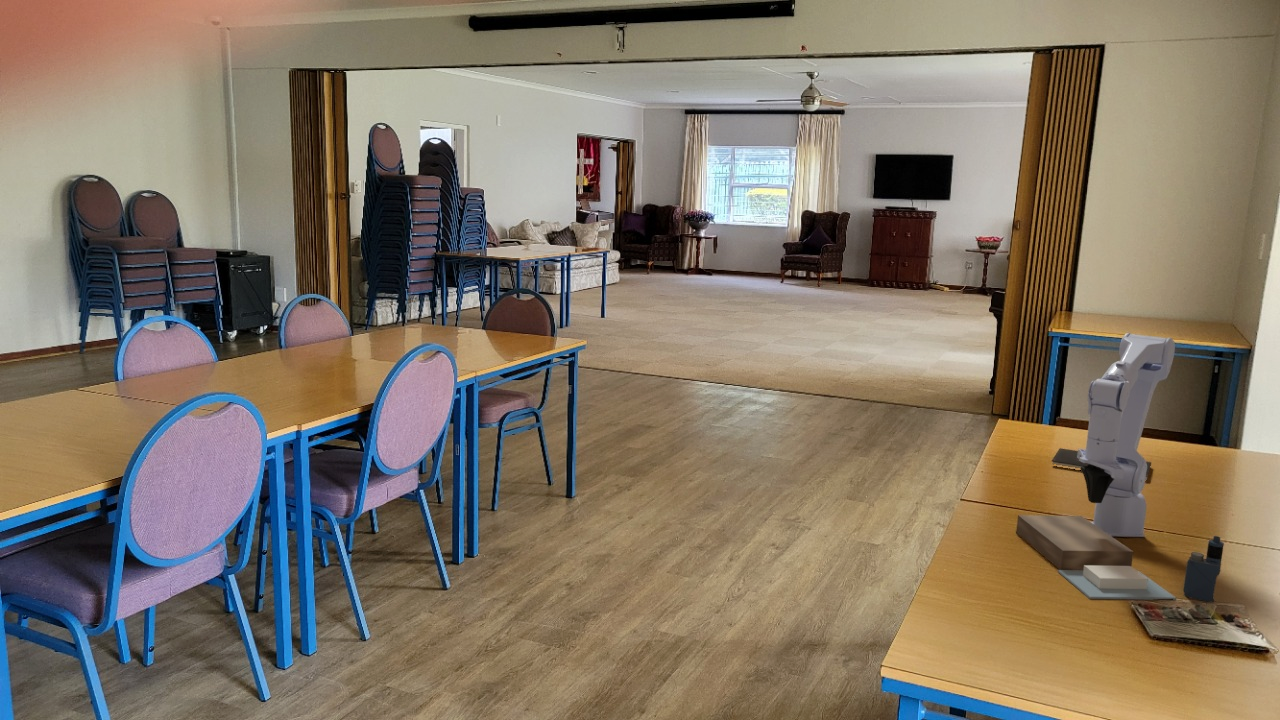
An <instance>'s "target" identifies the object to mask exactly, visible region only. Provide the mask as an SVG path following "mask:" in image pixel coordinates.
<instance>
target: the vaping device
mask: <svg viewBox="0 0 1280 720" xmlns="http://www.w3.org/2000/svg"><path fill="white" fill-rule="evenodd" d="M1224 545H1225V544H1224V541H1221V537H1220V536H1218V535H1214V536H1213V538H1212V539H1209V540H1208V543H1207V549H1206V555H1204V554H1203V553H1202V552H1201V553H1200V552H1197V551H1192V552H1190V556H1189V557H1188V559H1187V563H1186V568H1185V576H1184V580H1183V589H1182V591H1183V593H1184V596H1185V597H1187V598H1190V599H1194V600H1198V601H1204V602H1209V603H1213V602H1215V600H1214V595H1215V589H1216V583H1217V578H1218V576H1219V575H1220V574H1221V568H1222V559H1223V558H1222V557H1223V552H1224ZM1204 557H1206V558H1204Z"/></svg>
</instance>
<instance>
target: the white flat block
mask: <svg viewBox="0 0 1280 720" xmlns="http://www.w3.org/2000/svg"><path fill="white" fill-rule="evenodd" d="M1138 571H1139V570H1137V569H1135V568H1134V567H1133V566H1095V565H1084V570H1083V576H1084V577H1086V578H1087V579H1088V580H1089V581H1091V582H1092V583H1093V584H1094V585H1095V586H1097V587H1098V588H1104V589H1147V582H1148V578H1149V577H1148V578H1146V577H1145V576H1146V575H1145V576H1143V575H1142V574H1143V573H1142V572H1141V573H1142V574H1141V573H1139V572H1138Z"/></svg>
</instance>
